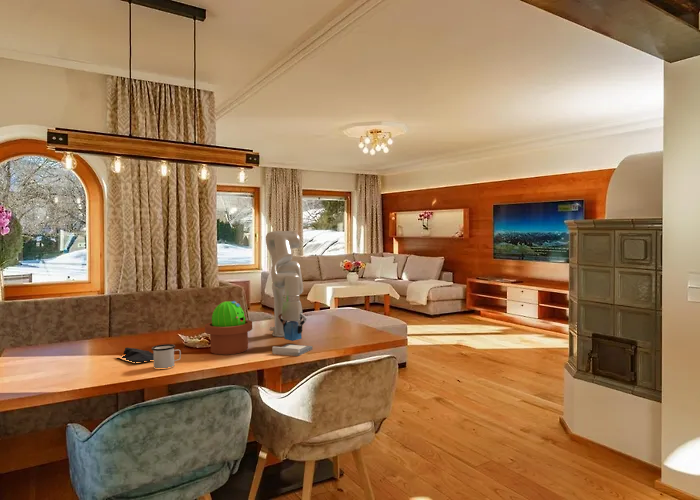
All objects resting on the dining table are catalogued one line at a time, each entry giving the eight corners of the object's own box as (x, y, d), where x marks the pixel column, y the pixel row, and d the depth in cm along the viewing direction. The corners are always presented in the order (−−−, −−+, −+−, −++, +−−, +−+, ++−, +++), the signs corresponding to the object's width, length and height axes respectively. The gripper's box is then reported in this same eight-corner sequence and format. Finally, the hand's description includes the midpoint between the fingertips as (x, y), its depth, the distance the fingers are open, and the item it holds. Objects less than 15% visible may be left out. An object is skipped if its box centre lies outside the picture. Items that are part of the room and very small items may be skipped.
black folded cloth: (130, 367, 207) (129, 356, 207) (114, 359, 223) (114, 349, 223) (164, 360, 217) (164, 350, 217) (147, 353, 233) (147, 343, 233)
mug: (156, 371, 198) (155, 350, 197) (149, 367, 205) (148, 346, 205) (184, 366, 205) (184, 345, 205) (177, 362, 213) (176, 342, 212)
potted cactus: (196, 354, 226) (195, 302, 226) (224, 344, 247) (223, 296, 246) (235, 357, 218) (233, 303, 217) (260, 347, 239) (259, 297, 238)
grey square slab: (272, 353, 224) (272, 347, 224) (287, 347, 237) (287, 340, 237) (298, 356, 218) (298, 349, 218) (312, 349, 231) (312, 342, 231)
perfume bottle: (284, 338, 243) (284, 316, 242) (293, 336, 248) (293, 314, 247) (292, 341, 239) (291, 317, 238) (301, 338, 244) (301, 315, 243)
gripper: (273, 298, 242) (274, 332, 243) (303, 300, 235) (304, 335, 236) (281, 296, 249) (282, 329, 250) (310, 298, 242) (311, 332, 243)
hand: (292, 332), depth 243 cm, fingers closed on perfume bottle, 7 cm apart
